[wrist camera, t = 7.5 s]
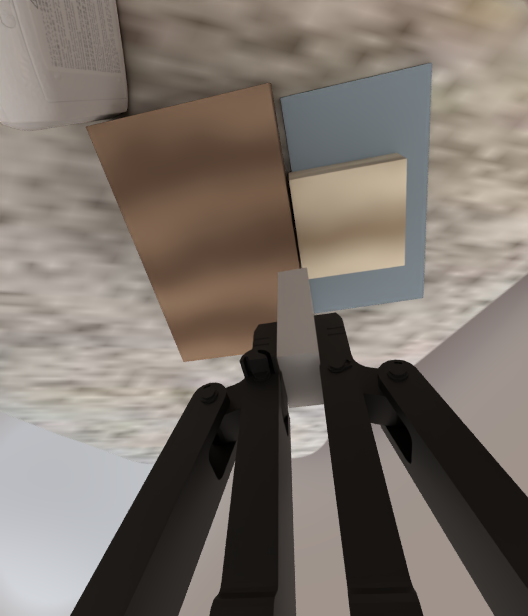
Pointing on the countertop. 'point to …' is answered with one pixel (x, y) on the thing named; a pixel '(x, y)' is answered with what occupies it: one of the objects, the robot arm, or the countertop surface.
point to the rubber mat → (359, 145)
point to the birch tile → (351, 215)
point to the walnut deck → (206, 213)
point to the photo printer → (60, 63)
